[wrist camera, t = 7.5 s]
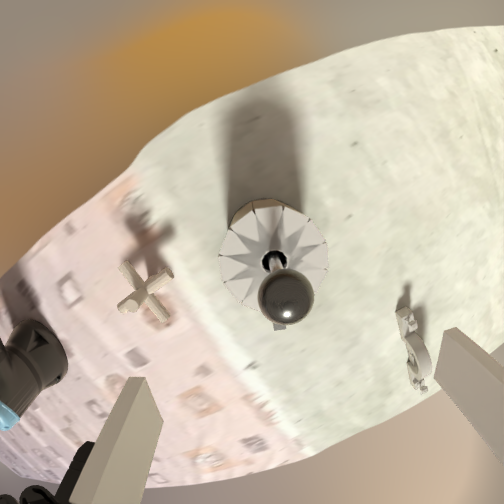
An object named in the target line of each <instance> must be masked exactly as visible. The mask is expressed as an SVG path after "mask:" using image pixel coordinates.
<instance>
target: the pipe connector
mask: <svg viewBox="0 0 504 504" xmlns="http://www.w3.org/2000/svg"><path fill="white" fill-rule="evenodd" d="M118 269H119V270H120V271H121V273H122V274H123V275H124V277H125V278H126V279H127V281H128V282H129V283H130V285H131V286H132V287H133V288H134V290H135V291H134V292H133V293H131V294H130V295H129V296H127V297H126V298H125V299H124V300H122V301H121V302H120V303H118V305H117V307H118V310H119V311H120V312H121V313H122V314H125V313H127V312H128V311H130V312H136V311H137V310H138V309H139V308H140V307H141V305H142V304H143V303H144V302H145V304H146V305H147V306H148V307H149V309H150V310H151V311H152V312H153V313H154V315H155V316H156V317H157V318H158V319H159V321H160V322H161V323H163V322H165V321H166V320H167V319H168V318H169V317H170V316H171V315H170V313H169V312H168V311H167V310H166V309H165V307H164V306H163V305H162V304H161V302H160V301H159V300H158V299H157V297H156V296H155V295H154V294H153V293H154V292H155V291H157V290H158V289H159V288H161V287H162V286H164V285H165V284H166V283H168V282H169V281H170V280H172V279H173V278H174V275H173V273H172V271H171V270H170V269H169V268H167V267H166V268H164V269H163V270H162V271H160V272H159V273H158V274H156V275H151V276H150V277H149V278H148V279H147V280H146V281H145V282H144V281H143V280H142V278H141V277H140V276H139V274H138V273H137V272H136V270H135V269H134V268H133V266H132V265H131V264H130V262H129V261H128V260H127V261H125V262H124V263H123V264H121V265H120V266H119V267H118Z"/></svg>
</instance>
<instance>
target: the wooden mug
mask: <svg viewBox="0 0 504 504" xmlns="http://www.w3.org/2000/svg"><path fill="white" fill-rule="evenodd" d="M325 241H326V239H325V238H324V236H323V235H322V233H321V232H320V231H319V229H318V228H317V226H316V225H315V223H314V222H313V220H312V219H310V218H309V217H308V216H306V215H304V214H302V213H301V212H299V211H297V210H296V209H294V208H292V207H290V206H288V205H287V204H285V203H283V202H281V201H278V200H275V199H268V198H265V199H257V200H254V201H251V202H249V203H247V204H246V205H244V206H243V207H241V208H240V209H239V210H238V211H237V212H236V213H235V215H234V217H233V219H232V221H231V223H230V226H229V229H228V232H227V234H226V236H225V239H224V241H223V244H222V246H221V249H220V251H219V256H218V259H219V266H220V272H221V278H222V281H224V283H223V284H224V286H225V287H226V288H227V289H228V290H229V292H230V293H231V294H232V295H233V296H234V298H235V299H236V300H237V301H238V302H239V303H240V302H241V301H242V305H244V306H246V307H249V308H251V309H254V310H257V311H259V312H261V310H260V308H259V305H258V300H257V295H258V289H259V286H260V284H261V282H262V281H263V280H264V278H265V277H266V276H267V275H269V274H270V273H271V271H270V270H266V269H265V268H264V266H263V265H262V259H263V257H264V255H265V254H266V253H268V252H269V251H273V250H278V251H280V252H283V253H284V255H285V256H286V263H285V265H284V266H283V268H284V269H293V270H296V271H298V272H300V273H302V274H303V275H305V276H306V277H307V279H308V280H309V281H310V283H311V285H312V287H313V290H314V292H316V293H317V292H318V290H319V288H320V286H321V284H322V282H323V280H324V278H325V276H326V274H327V272H328V270H327V269H326V268H329V265H328V248H327V243H326V242H325ZM314 296H315V294H314ZM273 326H274V331H275V330H282V329H286V325H279V324H276V323H273Z"/></svg>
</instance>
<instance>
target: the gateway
mask: <svg viewBox="0 0 504 504" xmlns="http://www.w3.org/2000/svg"><path fill="white" fill-rule="evenodd" d="M395 314H396V318H397V322H398V326H399V330H400V335H401V339H402V340H403V341H404V342H405V343H406V347H407V350H408V355H409V362H407V368H408V373H409V379H410V383H411V385H412V386H413V388H414V389H415V390H417V389H418V388H420V394H421V395H422V394H424V393H426V392H427V391H428V388H427V386H424V385H425V384H424V377H426V376H428V375H429V374H431V372H432V362H431V359H430V355H429V353H428V350H427V348H426V346H425V344H424V343H423V341H422V339H421V338H420V337H419V336H418V335H417V334H416V333H415V331H414V330H415V329H417V328H418V324H417V320H415V321H414V316H413V312H412V311H411V310H410V309H409V308H407V307H406V306H405V307H403V308H401V309H399V310H398V311H396V312H395ZM412 354H413V355H414V357H415V358H414V357H413V355H412Z"/></svg>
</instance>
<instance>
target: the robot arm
mask: <svg viewBox="0 0 504 504" xmlns="http://www.w3.org/2000/svg"><path fill="white" fill-rule="evenodd" d="M67 370H68V362H67V358H66V355H65V352H64V350H63V348H62V346H61V344H60V343H59V341H58V340H57V339H56V337H55V336H54V335H53V334H52V333H51V332H50V331H49V330H48V329H47V328H46V327H45V326H43V325H42V324H40V323H39V322H37V321H34V320H29V319H28V320H24V321H22V322H21V323H19V324H18V325H17V326H16V327H15V328H14V330H13V332H12V333H11V335H10V337H9V339H8V341H7V343H6V345H5V346H4V345H3V343H2V341H1V338H0V430H3V431H7V430H10V429H11V428H12V427H13V426H14V425H15V424H16V423H17V422H18V421H19V420H20V418H21V416H22V415H23V414H24V412H25V411H26V410H27V409H28V407H29V406H30V405H31V403H32V402H33V401H34V400H35V398H36V397H37V396H38V395H39V393H40V392H41V391H42V390H44V389H46V388H48V387H51V386H53V385H55V384H57V383H59V382H60V381H61V380H62V379H63V378H64V376H65V375H66V373H67ZM434 379H435V380H436V381H437V383H438V384H439V385H440V386H441V387H442V389H443V390H444V391H445V392H446V393H447V394H448V396H449V397H450V398H451V399H452V400H453V402H454V403H455V404H456V406H458V408H459V409H460V410H461V412H462V413H463V414H464V415H465V417H466V418H467V419H468V421H469V422H470V423H471V424H472V426H473V427H474V428H475V429H476V431H477V432H478V433H479V435H480V436H481V437H482V439H483V440H484V441H485V442H486V444H487V445H488V446H489V448H490V449H491V450H492V452H493V453H494V454H495V456H496V457H497V459H498V460H499V461H500V463H501V464H502V465H503V466H504V367H503V366H502V365H501V364H499V363H498V362H497V361H496V360H495V359H494V358H493V357H491V356H490V355H489V354H488V353H487V352H486V351H485V350H483V349H482V348H481V347H480V346H479V345H477V344H476V343H475V342H474V341H473V340H471V339H470V338H469V337H468V336H466V335H465V334H464V333H463V332H461V331H460V330H459V329H458V328H456V327H454V328H451V329H448V330H445V331H444V333H443V338H442V343H441V348H440V353H439V357H438V362H437V366H436V370H435V374H434ZM163 422H164V421H163V419H162V417H161V415H160V412H159V410H158V408H157V405H156V403H155V401H154V398H153V396H152V393H151V391H150V388H149V386H148V383H147V381H146V378H145V377H129V378H128V380H127V382H126V384H125V386H124V388H123V389H122V391H121V393H120V395H119V397H118V399H117V401H116V403H115V405H114V407H113V409H112V411H111V413H110V415H109V417H108V419H107V420H106V422H105V424H104V426H103V428H102V430H101V432H100V435H99V437H98V439H97V441H96V443H95V442H90V441H86V442H85V443H84V444H83V445H82V446H81V447H80V448H79V449H78V450H77V452H76V454H75V456H74V458H73V461H72V462H71V464H70V466H69V469H68V470H67V472H66V474H65V476H64V478H63V480H62V482H61V484H60V486H59V488H58V490H57V492H56V495H55V496H53V495H52V494H51V493H50V492H49V491H48V490H47V489H45V488H44V487H42V486H39V485H33V486H30V487H27V488H26V489H25V490H24V491H23V492H22V493H21V496H20V503H19V502H18V501H17V500H16V499H15V498H13V497H12V496H10V495H7V494H4V495H0V504H140V503H141V499H142V496H143V492H144V488H145V485H146V481H147V477H148V474H149V470H150V467H151V463H152V460H153V456H154V453H155V449H156V446H157V442H158V439H159V435H160V432H161V429H162V425H163Z"/></svg>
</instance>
